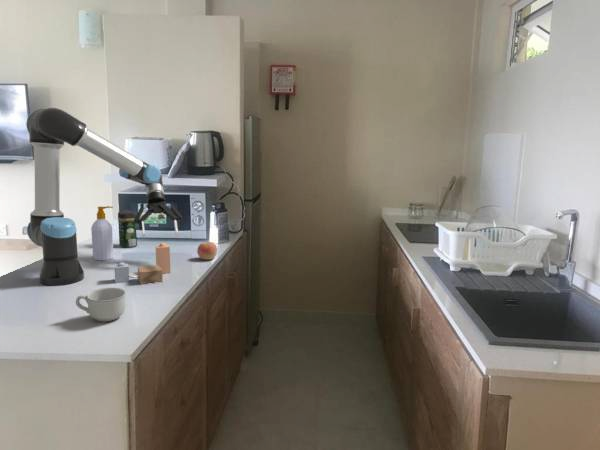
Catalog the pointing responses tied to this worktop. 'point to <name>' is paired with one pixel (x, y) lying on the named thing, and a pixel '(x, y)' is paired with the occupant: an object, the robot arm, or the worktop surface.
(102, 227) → the soap bottle
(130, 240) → the coffee jar
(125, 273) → the slate brick
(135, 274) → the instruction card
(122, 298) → the teacup
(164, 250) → the terracotta brick
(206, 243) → the apple
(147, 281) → the base block
